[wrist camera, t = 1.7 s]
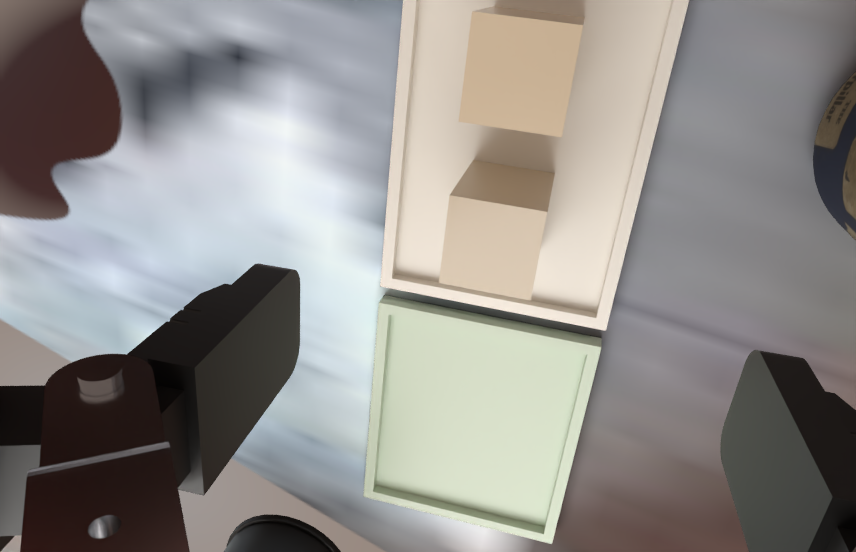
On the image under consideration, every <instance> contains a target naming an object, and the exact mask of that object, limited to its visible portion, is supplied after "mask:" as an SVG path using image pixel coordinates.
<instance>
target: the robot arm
mask: <svg viewBox="0 0 856 552" xmlns="http://www.w3.org/2000/svg"><path fill="white" fill-rule="evenodd" d="M299 346H300V278H299V274H298V272H297V271H296V270H292V269H287V268H281V267H275V266H269V265H263V264H255V265H254V266H252V267H251V268H250V269H249V270H248V271H247V272H245V273H244V274H243V275H242V276H241V277H240V278H239V279H237V280H236V281H235V282H234V283H233V284H232V285H229V284H223V285H221V286H218V287H216V288H213V289H211V290H208V291H206V292H203V293H201V294H199V295H198V296H197V297H196V298H195V299H193V300H192V301H191V302H190V303H189V304H187V305H186V306H185V307H184V310H180V311H179V312H178V313H176V314H175V315H174V316H173V317H172V318H170V322H166V323H164V324H163V325H162V326H161V327H160V328H158V329H157V330H156V331H155V332H153V333H152V334H151V335H150V336H149V337H147V338H146V339H145V340H144V341H143V342H141V343H140V344H139V345H138V346H137V347H135V348H134V349H133V350H132V351H131V352H129V353H128V354H127V355H125V354H103V355H96V356H91V357H87V358H83V359H80V360H77V361H74V362H72V363H70V364H68V365H66V366H64V367H62V368H61V369H59V370H58V371H56V372H55V373H54V374H53V375H52V376H51V377H50V378H49V379H48V381H47V383H46V385H45V386H0V552H1V551H2V550H3V548H4V547H5V546H6V545H7V544H8V543H9V542H10V541H11V540H12V539H13V538H14V536H18V535H21V547H20V552H190V551H189V546H188V540H187V535H186V530H185V524H184V519H183V513H182V508H181V503H180V498H179V492H178V490H182V491H186V492H191V493H195V494H200V495H205V493H206V492H207V491H208V489H209V488H210V487H211V485H212V484H213V482H214V481H215V480H216V478H217V477H218V475H219V474H220V473H221V471H222V470H223V469H224V467H225V466H226V464H227V463H228V462H229V460H230V459H231V458H232V456H233V455H234V453H235V452H236V451H237V449H238V448H239V447H240V445H241V444H242V442H243V441H244V440H245V438H246V437H247V435H248V434H249V433H250V431H251V430H252V429H253V427H254V426H255V424H256V423H257V422H258V420H259V419H260V418H261V416H262V415H263V413H264V412H265V411H266V409H267V408H268V407H269V405H270V404H271V402H272V401H273V400H274V398H275V397H276V395H277V394H278V393H279V391H280V390H281V389H282V387H283V386H284V384H285V383H286V382H287V380H288V379H289V378H290V376H291V374H292V372H293V370H294V368H295V365H296V362H297V358H298V353H299ZM721 460H722V464H723V468H724V471H725V474H726V478H727V481H728V484H729V487H730V491H731V494H732V497H733V500H734V504H735V507H736V510H737V514H738V517H739V520H740V523H741V527H742V530H743V533H744V536H745V540H746V543H747V546H748V550H749V552H856V410H855V409H853V408H852V407H851V406H850V405H848V404H847V403H846V402H845V401H844V400H842V399H841V398H840V397H839V396H837V395H836V394H835V393H830V392H825V391H824V389H823V387H822V386H821V384H820V383H819V381H818V379H817V378H816V376H815V374H814V373H813V371H812V369H811V368H810V366H809V365H808V363H807V362H806V360H805V359H803V358H799V357H793V356H788V355H782V354H776V353H770V352H764V351H758V350H754V351H753V352H751V353H750V355H749V356H748V358H747V360H746V362H745V365H744V368H743V371H742V374H741V377H740V380H739V382H738V385H737V388H736V391H735V394H734V397H733V400H732V403H731V406H730V409H729V411H728V414H727V417H726V420H725V423H724V426H723V430H722V436H721Z"/></svg>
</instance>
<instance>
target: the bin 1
mask: <svg viewBox="0 0 856 552" xmlns="http://www.w3.org/2000/svg"><path fill="white" fill-rule="evenodd" d="M688 3H689V0H403V10H402V22H401V35H400V47H399V60H398V72H397V85H396V97H395V109H394V122H393V134H392V147H391V159H390V172H389V184H388V196H387V209H386V221H385V234H384V246H383V259H382V271H381V284H380V286H381V287H386V288H391V289H396V290H401V291H406V292H411V293H416V294H422V295H427V296H432V297H437V298H442V299H447V300H452V301H457V302H462V303H467V304H472V305H477V306H483V307H488V308H493V309H498V310H503V311H508V312H513V313H518V314H523V315H528V316H533V317H538V318H543V319H549V320H554V321H559V322H564V323H569V324H574V325H579V326H584V327H589V328H594V329H599V330H604V331H606V328H607V324H608V320H609V316H610V312H611V308H612V304H613V300H614V296H615V292H616V288H617V284H618V280H619V276H620V272H621V268H622V264H623V260H624V256H625V252H626V248H627V244H628V240H629V237H630V233H631V229H632V225H633V221H634V217H635V213H636V209H637V205H638V201H639V197H640V193H641V189H642V185H643V181H644V177H645V173H646V169H647V165H648V161H649V157H650V153H651V149H652V145H653V141H654V138H655V134H656V130H657V126H658V122H659V118H660V114H661V110H662V106H663V102H664V98H665V94H666V90H667V86H668V82H669V78H670V74H671V70H672V66H673V62H674V58H675V54H676V50H677V46H678V42H679V38H680V35H681V31H682V27H683V23H684V19H685V15H686V11H687V7H688ZM492 6H497V7H505V8H513V9H522V10H530V11H538V12H546V13H554V14H562V15H571V16H579V17H585V19H584V25H583V30H582V35H581V40H580V46H579V51H578V56H577V61H576V66H575V72H574V77H573V82H572V87H571V93H570V98H569V103H568V108H567V113H566V118H565V124H564V129H563V134H562V137H556V136H549V135H543V134H536V133H530V132H523V131H517V130H510V129H503V128H497V127H490V126H484V125H477V124H471V123H464V122H459V114H460V106H461V97H462V89H463V81H464V73H465V65H466V57H467V48H468V40H469V32H470V24H471V16H472V11H476V10H480V9H484V8H488V7H492ZM473 160H477V161H483V162H489V163H496V164H502V165H508V166H514V167H520V168H527V169H533V170H539V171H545V172H551V173H555V176H554V181H553V186H552V192H551V197H550V202H549V207H548V213H547V218H546V223H545V228H544V233H543V239H542V244H541V249H540V254H539V259H538V265H537V270H536V275H535V280H534V285H533V290H532V296H531V301H530V300H524V299H519V298H514V297H509V296H504V295H498V294H493V293H488V292H483V291H478V290H473V289H467V288H462V287H457V286H452V285H447V284H442V283H439V277H440V269H441V261H442V252H443V244H444V236H445V228H446V220H447V212H448V203H449V195H450V194H451V192H452V191H453V189H454V188H455V186H456V185H457V183H458V182H459V180H460V179H461V177H462V176H463V174H464V173H465V171H466V170H467V168H468V167H469V165H470V164H471V162H472V161H473Z"/></svg>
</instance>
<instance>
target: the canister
mask: <svg viewBox="0 0 856 552" xmlns="http://www.w3.org/2000/svg"><path fill="white" fill-rule="evenodd" d="M813 167H814V176H815V182H816V185H817V188H818V191H819V194H820V196H821V198H822V200H823V202H824V204H825V206H826V208H827V209H828V211H829V212H830V213H831V215H832V216H833V217H834V218H835V219H836V221H837V222H838V223H839V224H840V225H841V226H842V227H843V228H844V229H845V230H846V231H847V232H848V233H849V234H850V235H851V236H852V237H853V238H854V239H855V240H856V72H855V73H854V74H853V75H852V76H851V77H850V78H849V79H848V80H847V81H846V82H845V84H844V85H843V86H842V87H841V88H840V90H839V91H838V92H837V93H836V95H835V96H834V97H833V99H832V101H831V102H830V104H829V106H828V107H827V109H826V111H825V113H824V116H823V118H822V120H821V122H820V125H819V128H818V131H817V135H816V139H815V145H814V155H813Z"/></svg>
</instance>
